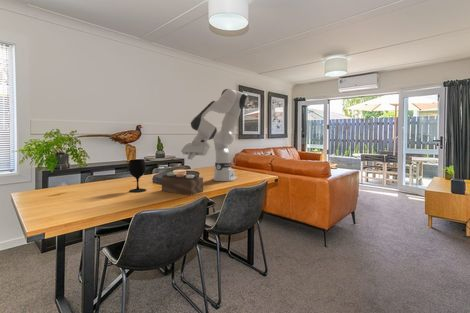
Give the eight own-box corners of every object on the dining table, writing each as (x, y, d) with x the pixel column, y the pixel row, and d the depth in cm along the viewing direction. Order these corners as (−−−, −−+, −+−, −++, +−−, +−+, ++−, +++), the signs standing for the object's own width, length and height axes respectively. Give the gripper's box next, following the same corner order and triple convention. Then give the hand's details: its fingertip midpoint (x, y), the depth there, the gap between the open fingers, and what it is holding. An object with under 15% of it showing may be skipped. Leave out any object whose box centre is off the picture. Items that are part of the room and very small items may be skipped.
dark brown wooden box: (174, 187, 180) (174, 173, 179) (202, 191, 168) (202, 176, 167) (161, 190, 169) (161, 175, 168) (191, 195, 158) (191, 179, 157)
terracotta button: (179, 176, 170) (179, 173, 169) (185, 177, 167) (185, 174, 167) (174, 177, 165) (174, 174, 165) (180, 178, 163) (180, 175, 163)
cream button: (189, 177, 166) (189, 174, 166) (195, 178, 163) (195, 175, 163) (184, 179, 161) (184, 175, 161) (190, 179, 159) (190, 176, 159)
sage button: (170, 175, 173) (170, 172, 173) (176, 176, 171) (176, 173, 171) (164, 176, 169) (164, 173, 169) (170, 177, 167) (170, 174, 166)
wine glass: (135, 193, 161) (134, 161, 159) (125, 191, 167) (125, 160, 166) (149, 190, 169) (149, 159, 168) (140, 188, 176) (139, 158, 174)
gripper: (185, 140, 186) (175, 155, 179) (207, 140, 175) (198, 156, 168) (189, 146, 190) (180, 160, 183) (212, 147, 179) (203, 162, 172)
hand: (189, 158), depth 175 cm, fingers closed
